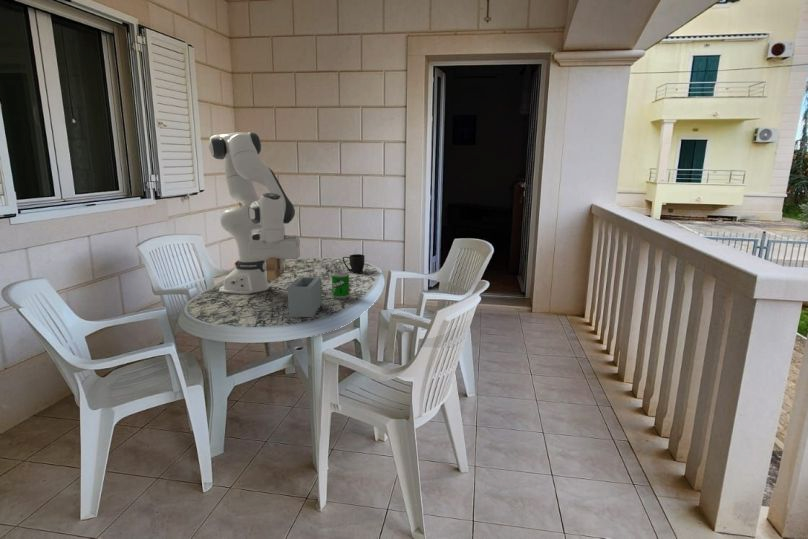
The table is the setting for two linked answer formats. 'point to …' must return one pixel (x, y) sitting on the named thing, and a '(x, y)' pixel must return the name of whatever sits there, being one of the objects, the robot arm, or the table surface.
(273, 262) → the brown rectangular block
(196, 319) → the table surface
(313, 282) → the grey hollow frame
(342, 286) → the soda can
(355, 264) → the mug
